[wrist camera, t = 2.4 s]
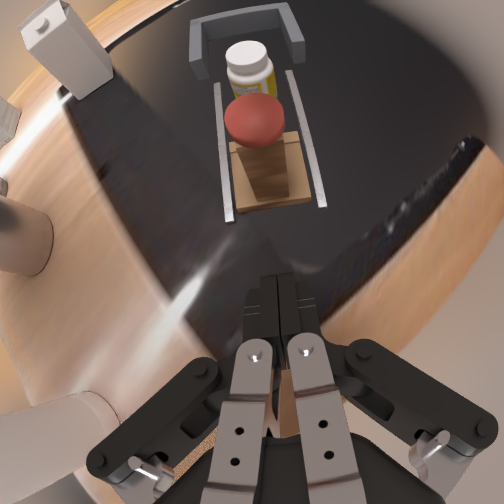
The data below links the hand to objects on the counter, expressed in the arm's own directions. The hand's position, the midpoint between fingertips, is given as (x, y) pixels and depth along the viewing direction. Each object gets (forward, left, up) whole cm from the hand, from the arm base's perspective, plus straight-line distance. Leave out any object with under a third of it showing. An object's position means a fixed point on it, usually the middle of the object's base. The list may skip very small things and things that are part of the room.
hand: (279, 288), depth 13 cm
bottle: (-18, -21, -14) cm, 31 cm away
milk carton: (-37, +27, -14) cm, 48 cm away
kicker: (-4, +11, -14) cm, 18 cm away
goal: (-11, +31, -14) cm, 36 cm away
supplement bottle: (-8, +21, -14) cm, 26 cm away
